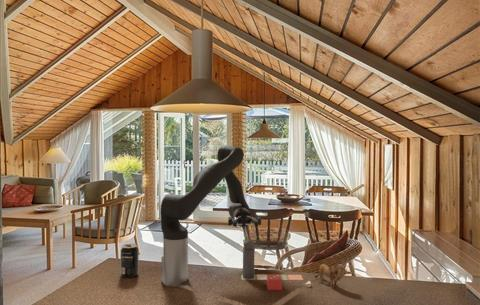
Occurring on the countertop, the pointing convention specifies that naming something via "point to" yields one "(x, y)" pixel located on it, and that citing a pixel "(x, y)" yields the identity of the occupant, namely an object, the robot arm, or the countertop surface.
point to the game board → (284, 277)
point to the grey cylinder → (248, 260)
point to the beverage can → (129, 260)
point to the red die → (274, 282)
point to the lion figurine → (332, 273)
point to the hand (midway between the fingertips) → (246, 224)
